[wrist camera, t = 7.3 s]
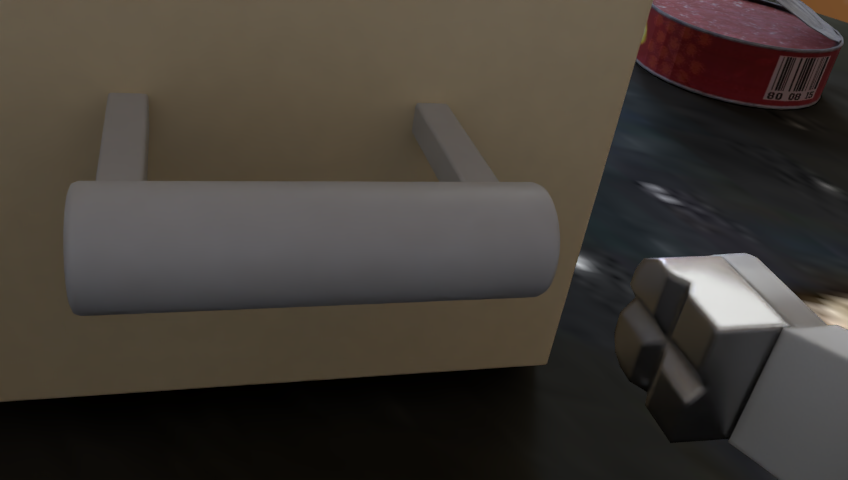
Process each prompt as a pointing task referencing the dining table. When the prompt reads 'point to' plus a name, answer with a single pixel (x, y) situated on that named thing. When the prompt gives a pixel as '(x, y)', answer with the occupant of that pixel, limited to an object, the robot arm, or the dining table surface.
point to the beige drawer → (295, 185)
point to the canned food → (741, 50)
